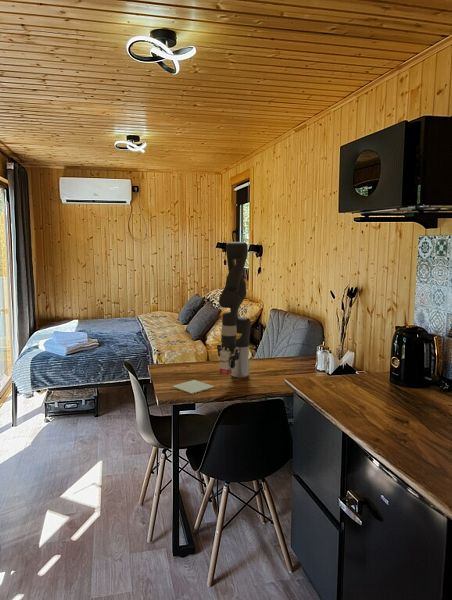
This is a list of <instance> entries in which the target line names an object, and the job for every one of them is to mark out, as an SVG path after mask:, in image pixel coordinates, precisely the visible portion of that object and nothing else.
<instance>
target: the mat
mask: <svg viewBox="0 0 452 600" xmlns="http://www.w3.org/2000/svg"><path fill="white" fill-rule="evenodd" d="M214 387H215V386H214V385H212V384H208V383H205V382H202V381H199V380H196V379H192V380H190V381H189V380H188V381H185V382H181V383H178V384H175V385H171V388H174V389H175V390H178V389H179V391H181V390H182V392H184V391H185V392H184V393H187V392H188V393H187V394H190V395H195V394H198V393H201V392H204V390H205V391H207V389H208V390H210V389H214ZM197 392H198V393H197ZM194 393H195V394H194Z"/></svg>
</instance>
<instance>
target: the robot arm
mask: <svg viewBox="0 0 452 600" xmlns="http://www.w3.org/2000/svg"><path fill="white" fill-rule="evenodd" d="M225 251H226V252H225V253H226V263H227V270H228V273H227V275H226V279H225V286H224V288H223V290H222V291H221V293H220V295H219V298H218V305H219V306H220V308H223V309H230V311H227V312H224V313H222V316H221V317H222V318H221V319H222V320H221V329H220V330H221V331H220V332H221V336H220V337H221V339H220V342H221V343H219V344H217V345H216V347H217V348H216V349H217V356H218V357H219V358H220V351H221V350H227V351H231V353H233V355H232V354H231V353H230V357H231V368H234V367H235V361H236V371H235V372H233V373H231V377H234V378H241V379H242V378H247V377H248V376H249V375H250V358H249V355H250V353H249V352H250V350H249V349H250V339H251V338H250V337H251V328H252V327H251V326H252V322H251V319H250V318H249V317H246V316H239V309H240V306H241V305H242V303H243V302H244V300H245V298H246V296H247V283H246V281H245V278H244V277H243V275H242V274H243V271H244V268H245V265H246V262H247V258H248V254H249V247H248V244H247V243H246V242H244V241H228V242H227V244H226V249H225ZM235 260H238V261H237V262H236V263H235ZM238 334H241V337H239V338H237V335H238Z"/></svg>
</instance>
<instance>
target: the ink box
mask: <svg viewBox="0 0 452 600" xmlns="http://www.w3.org/2000/svg"><path fill="white" fill-rule="evenodd" d="M230 353H231V351H227V350H223V349H222V350H221V351H220V357H219V374H222V375H226V376H228V375H230V374H231V373H233V372H235V371H236V361H235V367H234V368H231V357H230ZM231 354H232V355H233V353H231Z"/></svg>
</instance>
